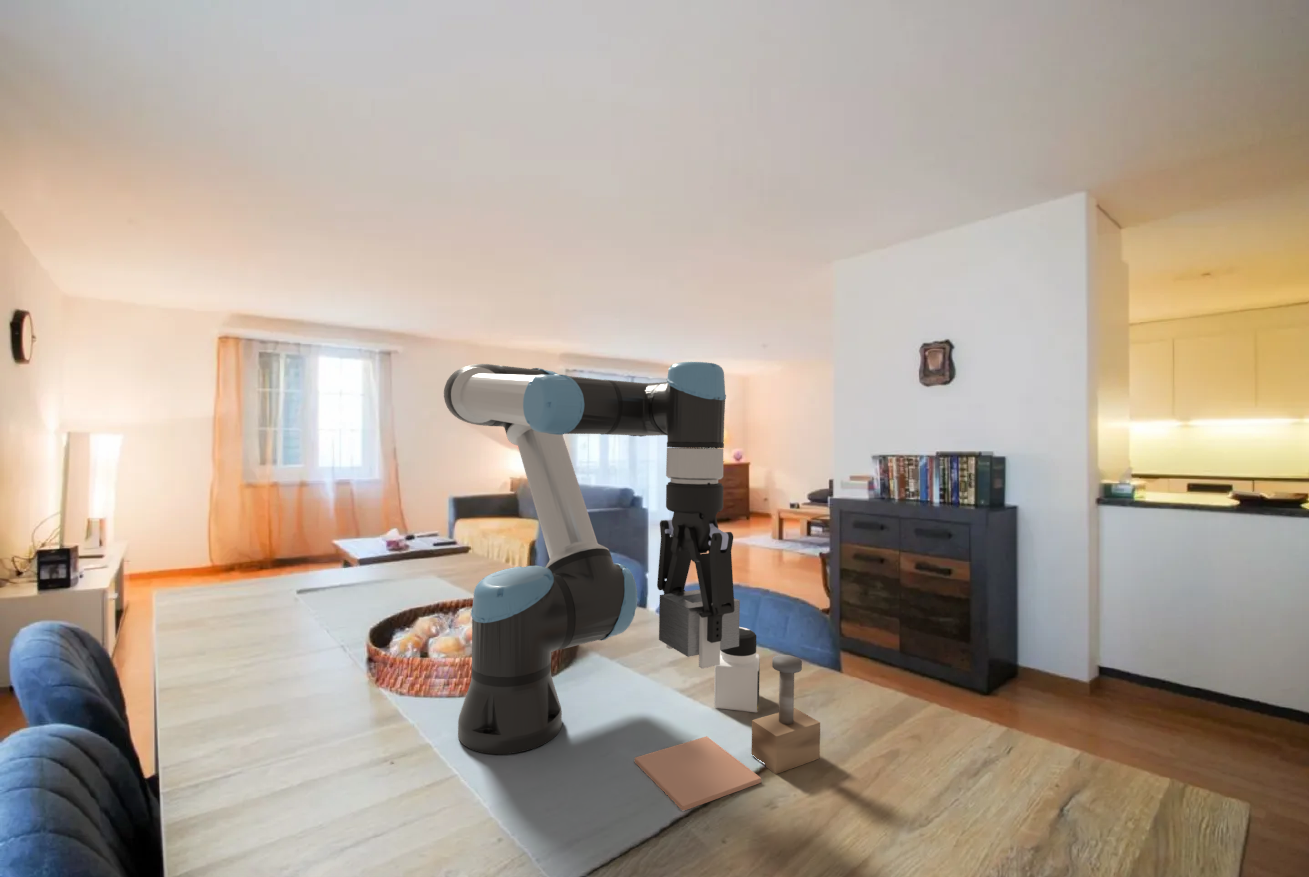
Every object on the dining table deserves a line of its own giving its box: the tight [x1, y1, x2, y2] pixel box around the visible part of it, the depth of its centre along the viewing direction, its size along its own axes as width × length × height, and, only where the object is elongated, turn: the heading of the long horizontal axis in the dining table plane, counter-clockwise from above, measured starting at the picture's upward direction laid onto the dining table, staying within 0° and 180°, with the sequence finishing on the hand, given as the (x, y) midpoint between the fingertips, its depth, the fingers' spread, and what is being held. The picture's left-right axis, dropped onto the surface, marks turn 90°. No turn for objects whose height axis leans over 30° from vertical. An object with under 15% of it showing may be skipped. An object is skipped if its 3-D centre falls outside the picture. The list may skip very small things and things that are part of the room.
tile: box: [634, 735, 762, 812], centre depth 77 cm, size 12×12×1 cm
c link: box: [658, 588, 741, 658], centre depth 77 cm, size 8×7×6 cm
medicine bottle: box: [713, 626, 761, 713], centre depth 99 cm, size 7×7×12 cm
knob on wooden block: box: [750, 654, 821, 775], centre depth 81 cm, size 5×8×14 cm, turn 120°
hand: (692, 655), depth 77 cm, fingers closed on c link, 7 cm apart
